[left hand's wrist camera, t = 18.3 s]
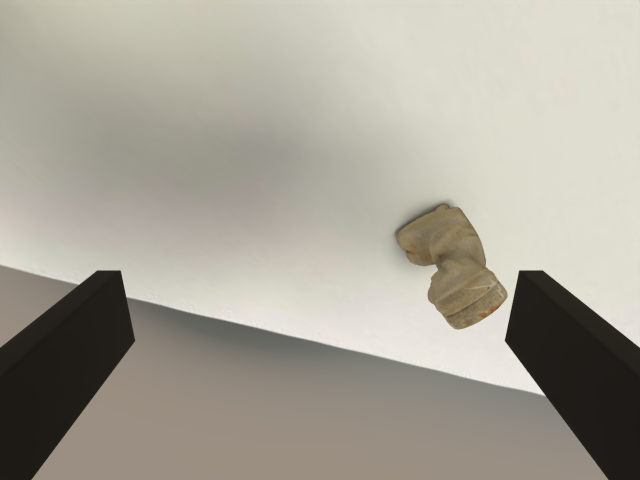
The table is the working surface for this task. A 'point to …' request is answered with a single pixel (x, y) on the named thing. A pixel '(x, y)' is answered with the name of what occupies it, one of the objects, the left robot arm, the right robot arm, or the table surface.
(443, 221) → the sculpture
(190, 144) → the table surface
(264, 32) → the table surface
